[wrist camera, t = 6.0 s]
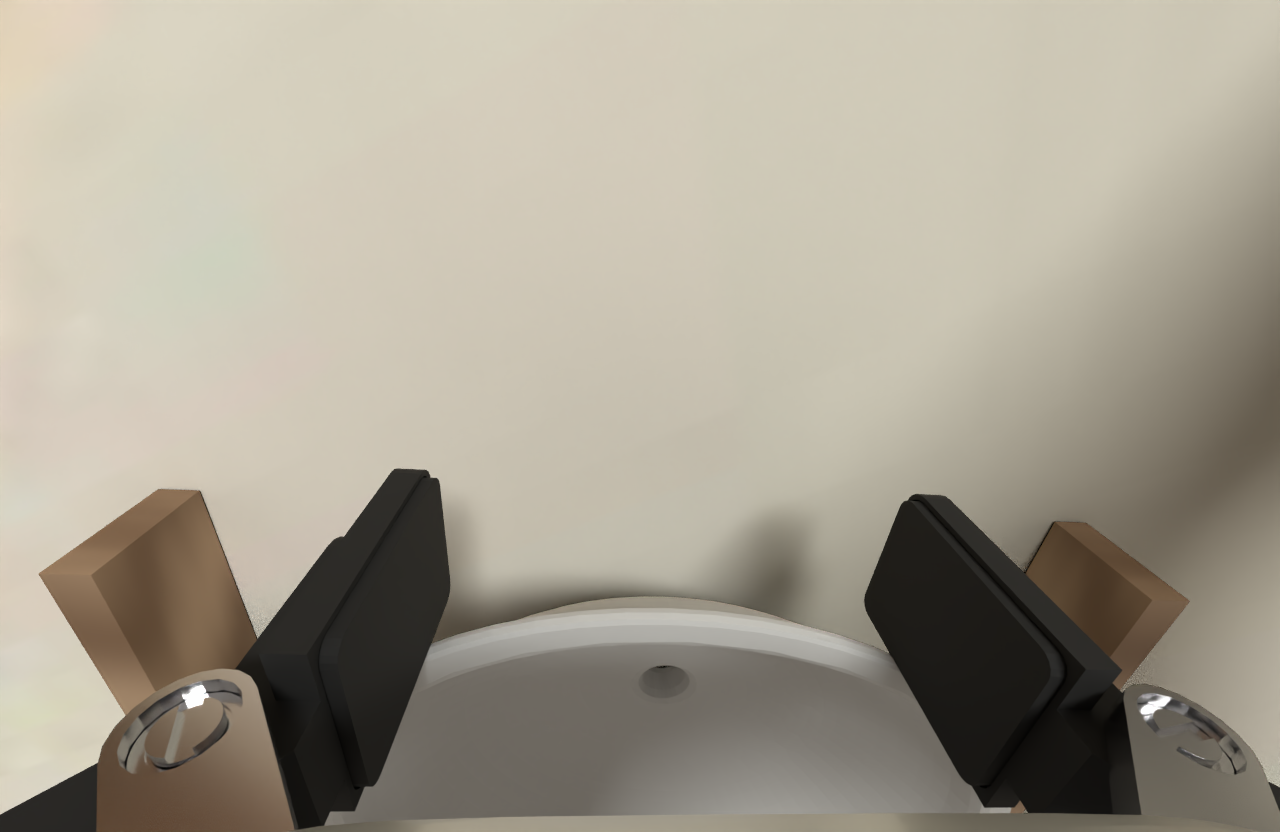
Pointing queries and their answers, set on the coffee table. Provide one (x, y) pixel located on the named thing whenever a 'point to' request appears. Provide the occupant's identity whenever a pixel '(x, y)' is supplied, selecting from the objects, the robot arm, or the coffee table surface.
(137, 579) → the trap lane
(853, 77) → the coffee table surface
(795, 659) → the dish
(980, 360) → the coffee table surface
